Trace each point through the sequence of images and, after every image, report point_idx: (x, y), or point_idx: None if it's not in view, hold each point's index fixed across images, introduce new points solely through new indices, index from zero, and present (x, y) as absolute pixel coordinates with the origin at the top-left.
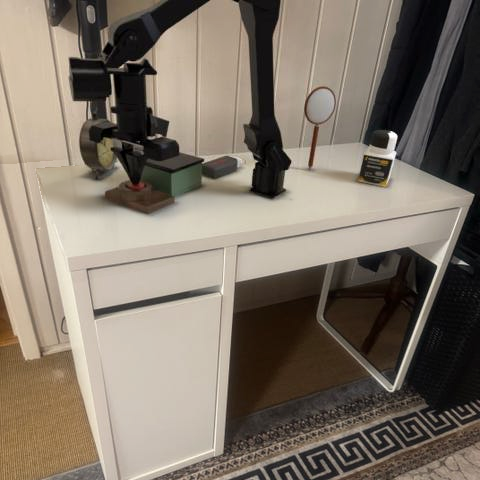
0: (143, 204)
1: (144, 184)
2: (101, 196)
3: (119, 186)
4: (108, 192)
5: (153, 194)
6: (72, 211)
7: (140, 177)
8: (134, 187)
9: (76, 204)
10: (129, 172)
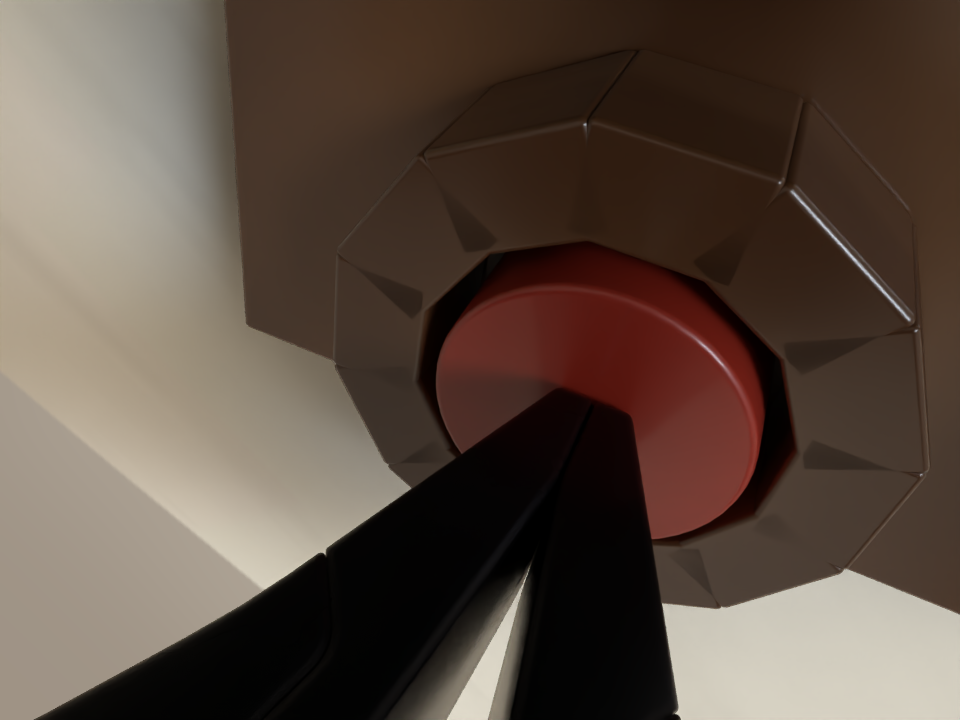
0: (879, 566)
1: (740, 391)
2: (228, 243)
3: (411, 487)
4: (296, 342)
5: (923, 191)
6: (310, 558)
7: (643, 524)
8: None
9: (233, 456)
10: (456, 699)
